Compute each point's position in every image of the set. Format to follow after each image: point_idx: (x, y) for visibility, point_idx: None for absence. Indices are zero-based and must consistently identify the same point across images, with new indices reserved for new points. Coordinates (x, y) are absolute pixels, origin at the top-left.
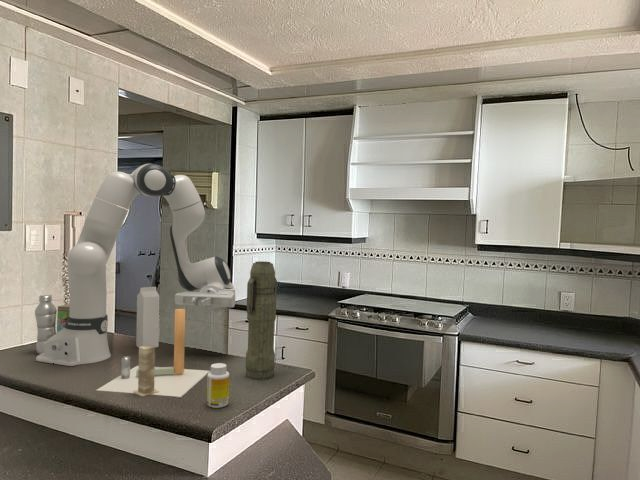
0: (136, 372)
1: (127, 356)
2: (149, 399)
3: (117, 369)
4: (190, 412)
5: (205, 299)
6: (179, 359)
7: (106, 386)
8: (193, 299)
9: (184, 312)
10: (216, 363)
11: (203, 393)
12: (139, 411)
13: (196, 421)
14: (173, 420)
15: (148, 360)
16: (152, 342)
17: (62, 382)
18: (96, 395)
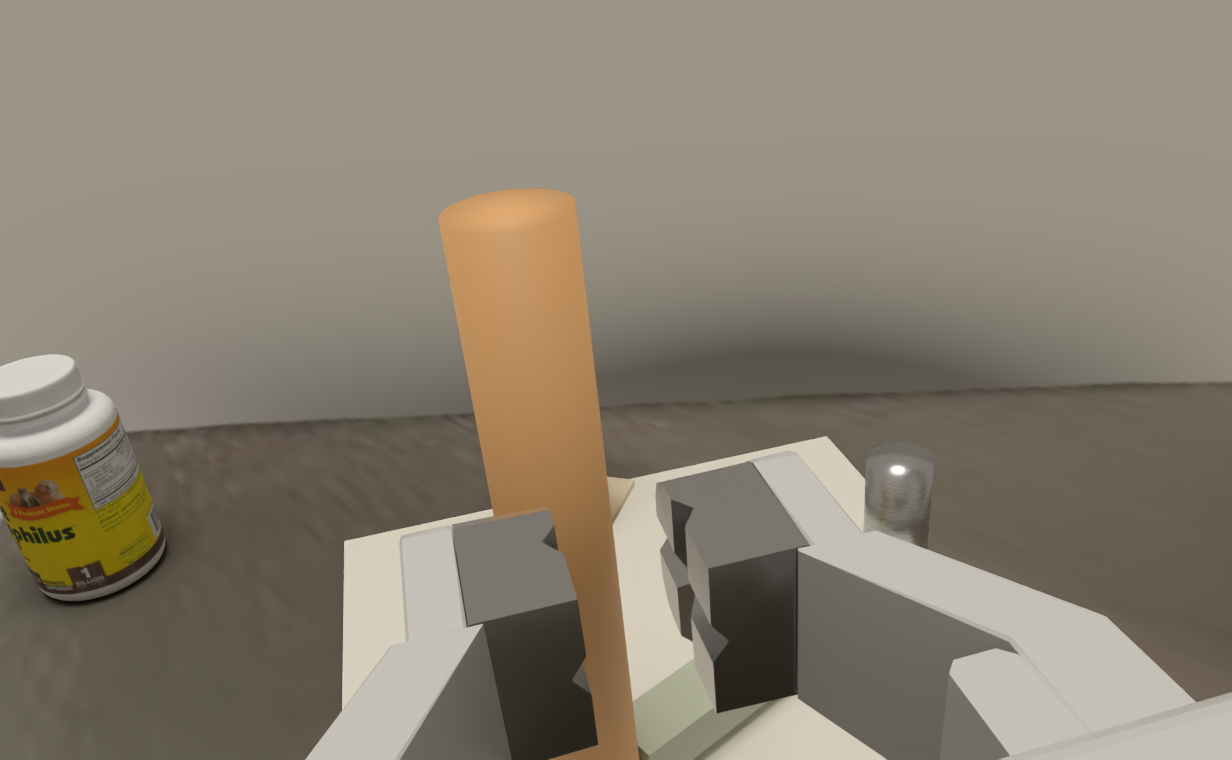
0: None
1: (913, 472)
2: None
3: (1180, 684)
4: (229, 477)
5: (414, 674)
6: None
7: (832, 473)
8: (825, 512)
9: (444, 249)
10: (39, 383)
11: (231, 634)
12: (456, 415)
13: (177, 445)
14: (276, 422)
15: None
16: None
17: (1112, 434)
18: (771, 423)
